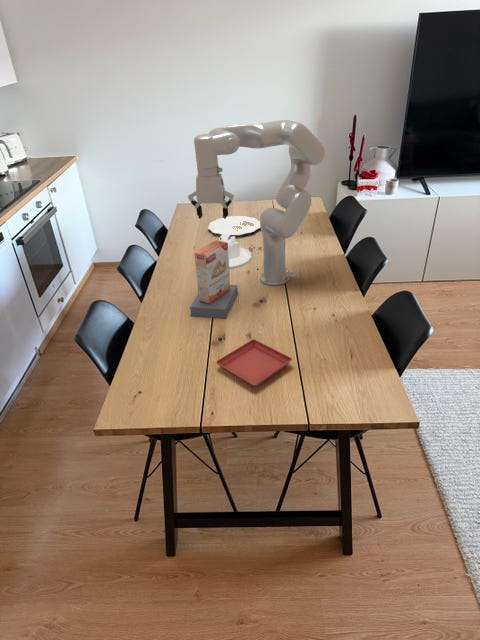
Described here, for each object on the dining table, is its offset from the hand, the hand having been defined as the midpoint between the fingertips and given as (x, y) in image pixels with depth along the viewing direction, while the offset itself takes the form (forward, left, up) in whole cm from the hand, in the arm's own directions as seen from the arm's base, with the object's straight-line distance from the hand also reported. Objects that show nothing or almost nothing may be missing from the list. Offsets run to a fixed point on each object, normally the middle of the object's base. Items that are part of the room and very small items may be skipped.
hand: (212, 217), depth 177 cm
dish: (+7, -38, -35) cm, 52 cm away
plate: (+12, -77, -35) cm, 85 cm away
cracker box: (0, +6, -31) cm, 31 cm away
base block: (0, +6, -34) cm, 35 cm away
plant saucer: (-24, +44, -35) cm, 61 cm away
